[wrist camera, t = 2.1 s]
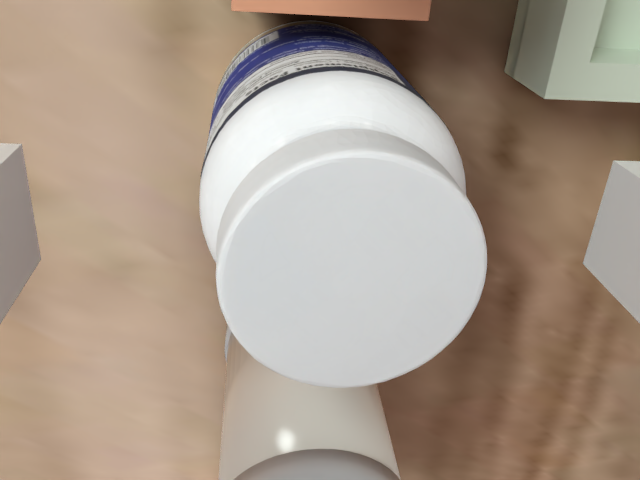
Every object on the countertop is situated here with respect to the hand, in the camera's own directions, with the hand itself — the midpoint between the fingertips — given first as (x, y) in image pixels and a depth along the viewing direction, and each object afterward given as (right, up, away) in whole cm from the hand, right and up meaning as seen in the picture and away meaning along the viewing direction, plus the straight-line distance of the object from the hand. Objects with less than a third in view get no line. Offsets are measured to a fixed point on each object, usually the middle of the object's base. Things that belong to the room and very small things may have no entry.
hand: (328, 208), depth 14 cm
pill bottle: (-1, +3, +5) cm, 6 cm away
